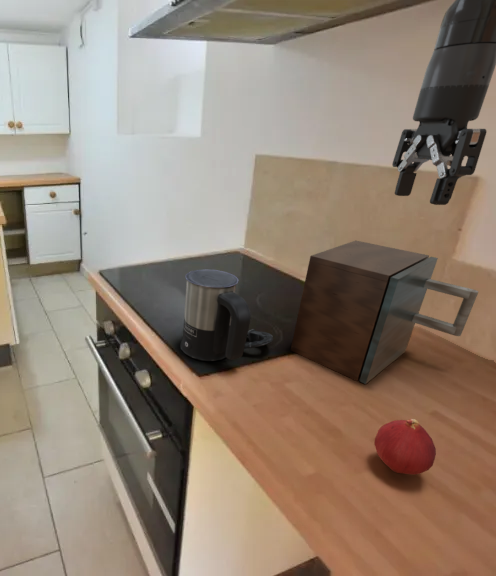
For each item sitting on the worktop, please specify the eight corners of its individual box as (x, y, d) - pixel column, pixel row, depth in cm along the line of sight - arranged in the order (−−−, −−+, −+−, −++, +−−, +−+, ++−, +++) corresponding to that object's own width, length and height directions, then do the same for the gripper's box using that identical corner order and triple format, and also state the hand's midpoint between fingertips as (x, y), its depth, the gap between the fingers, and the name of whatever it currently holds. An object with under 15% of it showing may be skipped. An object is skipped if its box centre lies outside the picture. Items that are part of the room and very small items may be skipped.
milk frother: (169, 347, 73) (174, 276, 68) (216, 322, 83) (223, 257, 77) (235, 381, 64) (247, 300, 58) (279, 347, 73) (293, 276, 68)
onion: (374, 444, 51) (391, 396, 48) (428, 470, 47) (450, 419, 44) (362, 469, 47) (379, 418, 44) (419, 499, 43) (443, 446, 40)
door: (449, 368, 67) (490, 268, 60) (413, 406, 58) (456, 293, 50) (399, 349, 73) (430, 256, 65) (359, 381, 63) (390, 277, 56)
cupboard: (397, 349, 73) (429, 255, 66) (357, 381, 64) (389, 275, 56) (333, 325, 82) (355, 240, 75) (290, 350, 73) (310, 255, 65)
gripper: (529, 78, 47) (480, 208, 54) (445, 89, 60) (413, 193, 67) (465, 78, 48) (424, 207, 54) (395, 90, 61) (369, 192, 67)
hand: (418, 199), depth 60 cm, fingers open, 8 cm apart
